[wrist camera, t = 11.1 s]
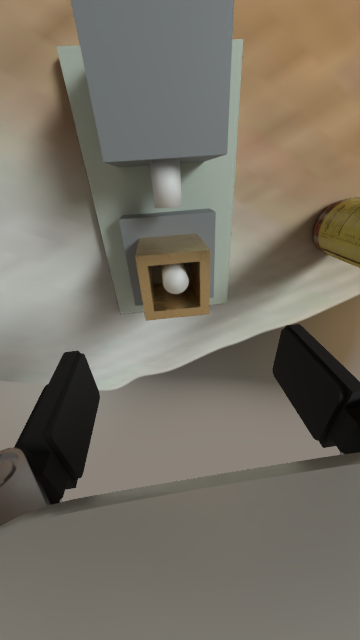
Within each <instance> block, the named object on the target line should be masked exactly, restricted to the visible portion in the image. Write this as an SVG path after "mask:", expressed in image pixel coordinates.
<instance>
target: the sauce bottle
mask: <svg viewBox="0 0 360 640" xmlns="http://www.w3.org/2000/svg"><path fill="white" fill-rule="evenodd" d="M313 236H314V241H315V244H316V247H317V248H319V249H320V250H322V251H324V252H325V253H326V254H328V255H330V256H332V257H335V258H337V259H340V260H342V261H344V262H347V263H349V264H352V265H354V266H357V267H359V268H360V197H356V198H349V199H345V200H340V201H338V202H336V203H334V204H332V205H330V206H329V207H328V208H327V209H326V210H325V211H324V212H323V213H322V214H321V215H320V217H319V219H318V220H317V222H316V224H315V226H314V233H313Z"/></svg>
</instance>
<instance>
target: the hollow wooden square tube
mask: <svg viewBox="0 0 360 640" xmlns="http://www.w3.org/2000/svg"><path fill="white" fill-rule="evenodd" d="M135 259H136V265H137V271H138V277H139V283H140V289H141V295H142V301H143V306H144V312H145V318H146V320H156V319H166V318H175V317H185V316H195V315H204V314H209V308H210V249H209V247H208V246H207V245H206V244H205V243H204V241H203V240H202V239H201V238H200V236H199V235H198V234H197V233H195V234H183V235H171V236H159V237H147V238H139V242H138V246H137V250H136V255H135ZM188 262H190V280H189V284H188V287H187V288H186V290H185V291H183V292H182V293H179V294H172V293H169V292H168V291H166V289H165V288H164V286H163V283H156V284H154V282H153V274H152V267H151V266H154V265H165V264H177V263H188Z"/></svg>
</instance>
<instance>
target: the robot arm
mask: <svg viewBox="0 0 360 640" xmlns="http://www.w3.org/2000/svg"><path fill="white" fill-rule="evenodd" d="M273 374H274V377H275V378H276V380H277V381H278V383H279V384H280V386H281V388H282V389H283V391H284V392H285V394H286V396H287V397H288V398H289V400H290V402H291V403H292V405H293V407H294V408H295V409H296V411H297V413H298V414H299V416H300V418H301V419H302V420H303V422H304V424H305V425H306V427H307V429H308V430H309V432H310V433H311V435H312V436H313V438H314V439H315V440H319V442H320V444H321V445H322V447H323V448H326V447H332V446H337V447H338V449H339V450H340V455H338V456H330V457H323V458H317V459H310V460H304V461H297V462H291V463H285V464H278V465H272V466H266V467H260V468H254V469H247V470H241V471H235V472H229V473H223V474H217V475H211V476H205V477H198V478H193V479H186V480H181V481H174V482H169V483H163V484H157V485H151V486H145V487H139V488H134V489H127V490H122V491H116V492H110V493H105V494H100V495H94V496H89V497H84V498H78V499H73V500H70V501H65V502H62V500H61V498H62V497H63V495H64V491H65V489H71V488H76V484H77V480H78V478H81V477H82V475H83V471H84V467H85V462H86V457H87V453H88V449H89V444H90V439H91V435H92V431H93V426H94V422H95V418H96V413H97V408H98V404H99V399H100V395H99V391H98V388H97V386H96V383H95V381H94V378H93V375H92V373H91V370H90V368H89V365H88V362H87V360H86V357H85V355H84V354H83V353H82V354H81V353H80V352H79V351H72V352H65V353H64V354H63V356H62V358H61V360H60V362H59V364H58V366H57V368H56V370H55V372H54V374H53V376H52V378H51V380H50V382H49V384H48V385H46V386H45V388H44V389H43V391H42V393H41V395H40V397H39V399H38V401H37V403H36V405H35V407H34V409H33V411H32V413H31V415H30V417H29V419H28V421H27V423H26V425H25V427H24V429H23V431H22V433H21V435H20V437H19V439H18V441H17V443H16V445H15V447H14V448H7V449H4V450H1V451H0V640H360V382H359V381H358V380H357V379H356V378H355V377H354V376H353V375H352V374H351V373H350V372H349V371H348V370H347V369H346V368H345V367H344V366H343V365H342V364H341V363H340V362H339V361H337V360H336V359H335V358H334V357H333V356H332V355H331V354H330V353H329V352H328V351H327V350H326V349H325V348H324V347H323V346H322V345H321V344H320V343H318V341H317V340H315V338H314V337H313V336H311V335H310V334H309V333H308V332H307V331H306V330H305V329H304V328H303V327H302V326H301V325H300V324H295V325H287V326H285V328H284V329H283V330H282V331H281V335H280V339H279V344H278V348H277V352H276V357H275V361H274V365H273Z"/></svg>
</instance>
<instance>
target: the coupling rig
mask: <svg viewBox="0 0 360 640" xmlns="http://www.w3.org/2000/svg"><path fill="white" fill-rule="evenodd" d="M71 3H72V8H73V13H74V18H75V23H76V28H77V33H78V38H79V43H80V45H79V46H56V48H57V52H58V56H59V60H60V64H61V68H62V73H63V77H64V81H65V85H66V89H67V93H68V97H69V102H70V106H71V110H72V114H73V118H74V122H75V127H76V131H77V135H78V139H79V143H80V147H81V152H82V156H83V160H84V164H85V168H86V172H87V177H88V181H89V185H90V189H91V193H92V197H93V202H94V206H95V210H96V214H97V218H98V222H99V226H100V231H101V235H102V239H103V243H104V247H105V251H106V256H107V260H108V264H109V268H110V272H111V276H112V281H113V285H114V289H115V293H116V297H117V301H118V306H119V310H120V314H128V313H138V312H144V306H143V301H142V295H141V289H140V283H139V277H138V271H137V265H136V259H135V255H136V250H137V246H138V242H139V238H147V237H159V236H171V235H183V234H195V233H197V234H198V235H199V236H200V238H201V239H202V240H203V241H204V243H205V244H206V245H207V246H208V247H209V249H210V305H215V304H224V303H227V295H228V278H229V262H230V246H231V229H232V213H233V197H234V180H235V164H236V147H237V131H238V115H239V98H240V82H241V66H242V49H243V39H232V34H233V11H234V0H71ZM151 267H152V274H153V282H154V284H156V283H163V286H164V288H165V289H166V291H168V292H169V293H172V294H179V293H182V292H183V291H185V290H186V288H187V287H188V284H189V280H190V262H188V263H177V264H165V265H154V266H151Z"/></svg>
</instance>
